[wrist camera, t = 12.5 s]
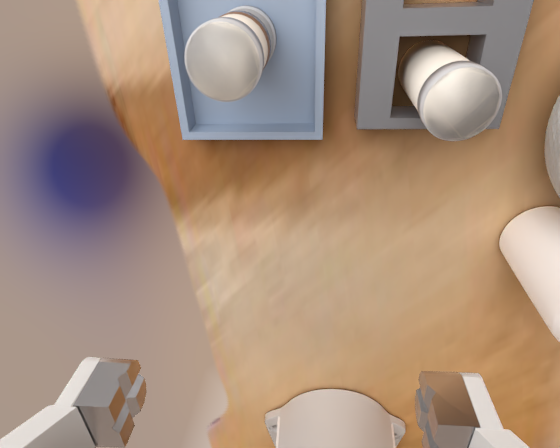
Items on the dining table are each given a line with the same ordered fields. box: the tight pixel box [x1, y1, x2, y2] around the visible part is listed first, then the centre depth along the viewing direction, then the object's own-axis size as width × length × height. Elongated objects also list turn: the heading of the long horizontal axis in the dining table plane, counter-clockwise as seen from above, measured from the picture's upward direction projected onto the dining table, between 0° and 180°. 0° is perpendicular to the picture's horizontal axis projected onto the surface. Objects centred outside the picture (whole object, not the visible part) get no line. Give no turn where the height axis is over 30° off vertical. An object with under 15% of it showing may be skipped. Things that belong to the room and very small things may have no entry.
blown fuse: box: [184, 5, 277, 102], centre depth 25 cm, size 4×4×9 cm
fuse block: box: [354, 0, 534, 141], centre depth 24 cm, size 14×10×9 cm
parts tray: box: [159, 0, 326, 140], centre depth 29 cm, size 14×11×2 cm
